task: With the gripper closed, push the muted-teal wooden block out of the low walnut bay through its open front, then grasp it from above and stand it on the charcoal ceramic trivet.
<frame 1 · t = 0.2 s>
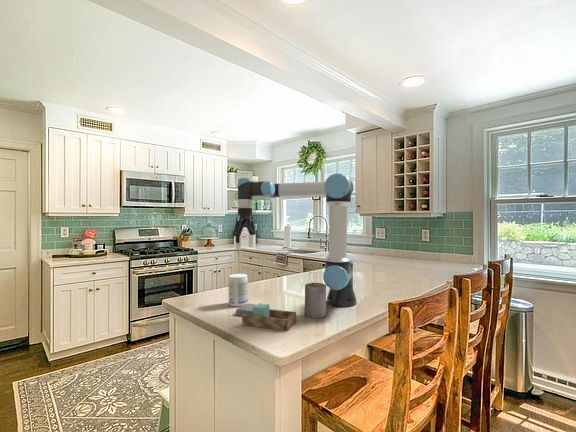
hand: (245, 248, 164), 28 cm above the table, tool pointing down, fingers open, 13 cm apart
pillar candle: (315, 315, 142), on the table
trivet: (250, 312, 145), on the table
supplement tub: (238, 304, 158), on the table
bay: (269, 323, 131), on the table
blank: (261, 322, 132), resting in bay
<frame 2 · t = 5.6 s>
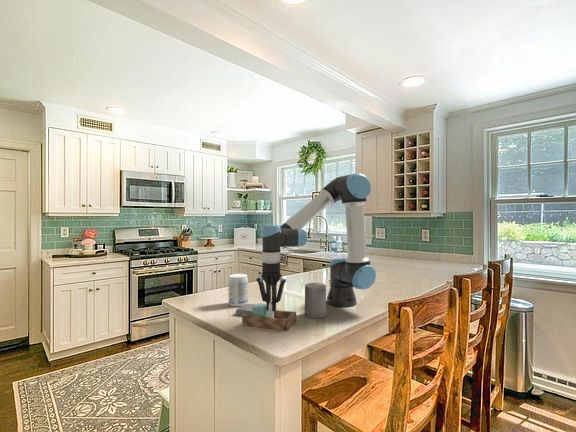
hand: (271, 318, 131), 2 cm above the table, tool pointing down, fingers closed
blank: (261, 322, 132), resting in bay, touching gripper
everything else where it was.
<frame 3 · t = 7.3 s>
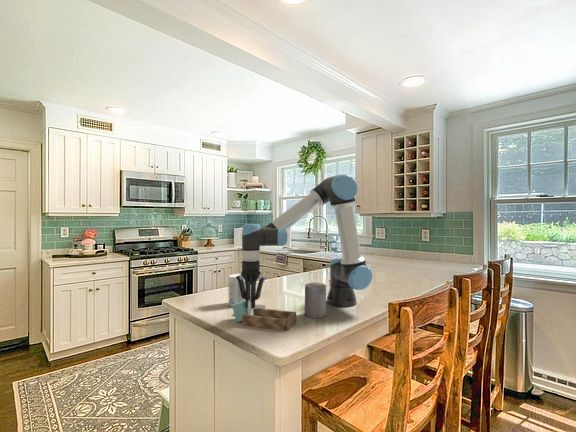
hand: (250, 315, 133), 2 cm above the table, tool pointing down, fingers closed
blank: (244, 318, 134), point 1 cm above the table, tilted 19°, touching gripper
everything else where it was.
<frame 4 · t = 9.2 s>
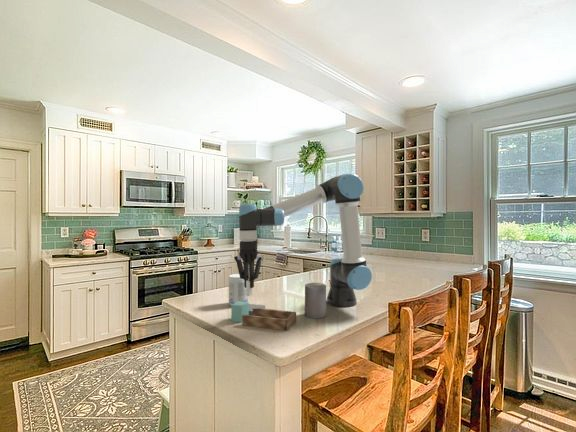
hand: (249, 295, 134), 11 cm above the table, tool pointing down, fingers closed
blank: (240, 319, 135), on the table
everything else where it was.
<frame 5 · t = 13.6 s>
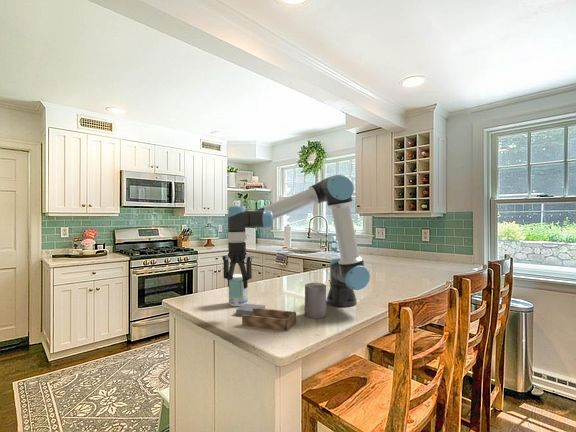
hand: (237, 295, 136), 10 cm above the table, tool pointing down, fingers closed on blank, 5 cm apart
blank: (237, 296, 136), point 10 cm above the table, touching gripper
everything else where it was.
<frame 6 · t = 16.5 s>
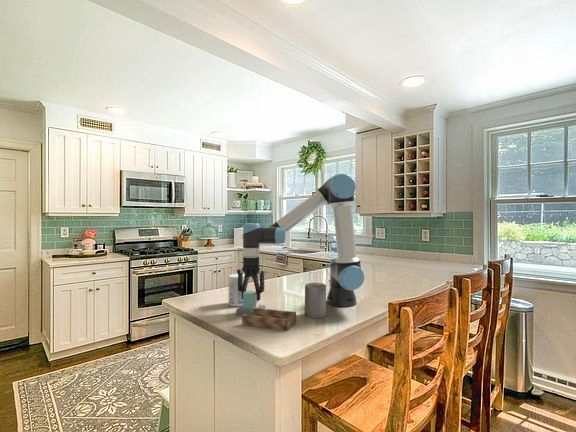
hand: (250, 306, 145), 3 cm above the table, tool pointing down, fingers closed on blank, 5 cm apart
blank: (250, 307, 145), point 3 cm above the table, touching gripper, trivet
everything else where it was.
when the fingers open (3 cm above the table, at t = 16.6 s): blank stays where it is, resting on trivet.
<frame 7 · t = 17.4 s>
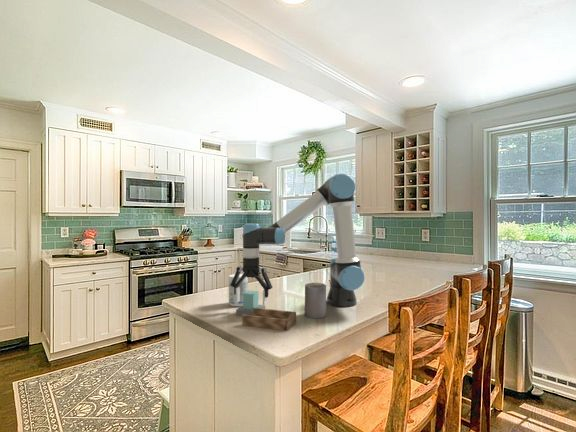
hand: (251, 303, 145), 5 cm above the table, tool pointing down, fingers open, 13 cm apart
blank: (250, 307, 145), point 2 cm above the table, touching trivet
everything else where it was.
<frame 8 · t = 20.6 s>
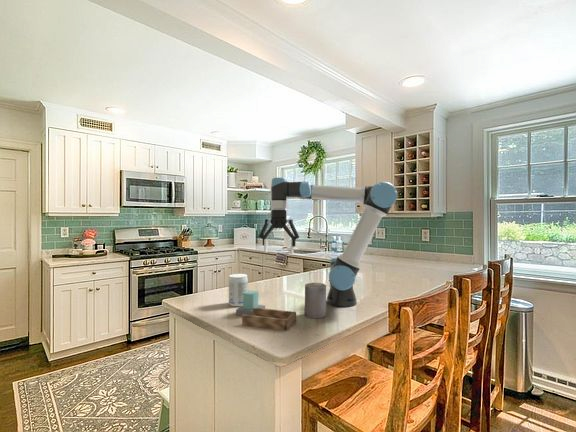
hand: (278, 252, 154), 27 cm above the table, tool pointing down, fingers open, 13 cm apart
nothing on the table moved.
at the end: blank inside the target area on the trivet (0.1 cm from its centre), point 2.5 cm above the trivet's base; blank tilted 0°; the gripper is holding nothing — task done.
